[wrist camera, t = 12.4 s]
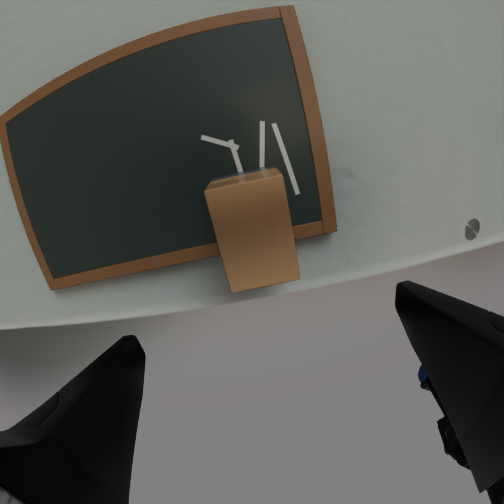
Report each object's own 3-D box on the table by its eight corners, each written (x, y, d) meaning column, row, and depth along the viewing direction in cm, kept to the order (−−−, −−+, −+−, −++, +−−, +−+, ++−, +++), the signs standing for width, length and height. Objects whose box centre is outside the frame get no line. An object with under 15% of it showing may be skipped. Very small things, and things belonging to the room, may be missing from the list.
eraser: (290, 251, 20) (300, 279, 16) (233, 262, 20) (231, 293, 17) (274, 164, 18) (283, 174, 14) (211, 178, 18) (203, 191, 14)
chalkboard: (333, 226, 21) (337, 231, 20) (56, 285, 22) (50, 291, 21) (291, 10, 14) (293, 4, 13) (3, 117, 15) (-4, 118, 14)
